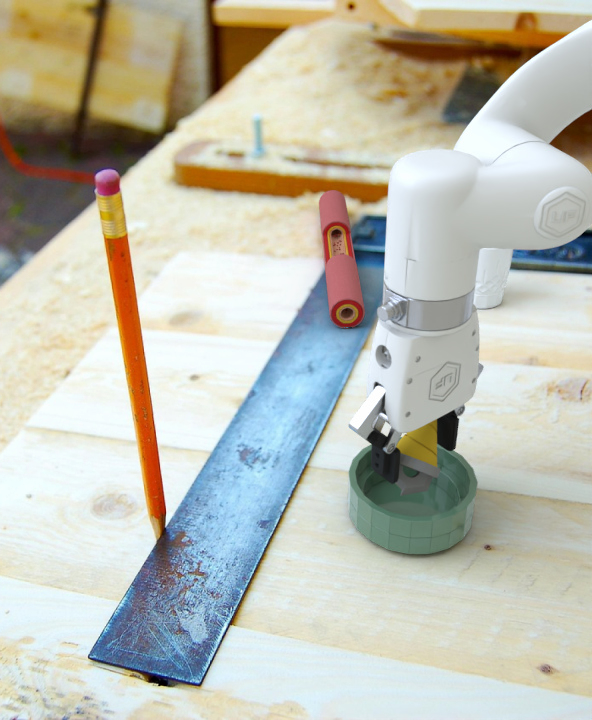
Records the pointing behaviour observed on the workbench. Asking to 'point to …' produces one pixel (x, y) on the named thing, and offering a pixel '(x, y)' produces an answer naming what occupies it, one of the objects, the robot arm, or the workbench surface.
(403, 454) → the drill bit
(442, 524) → the bowl
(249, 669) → the workbench surface
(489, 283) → the white cup
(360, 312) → the blood vessel
